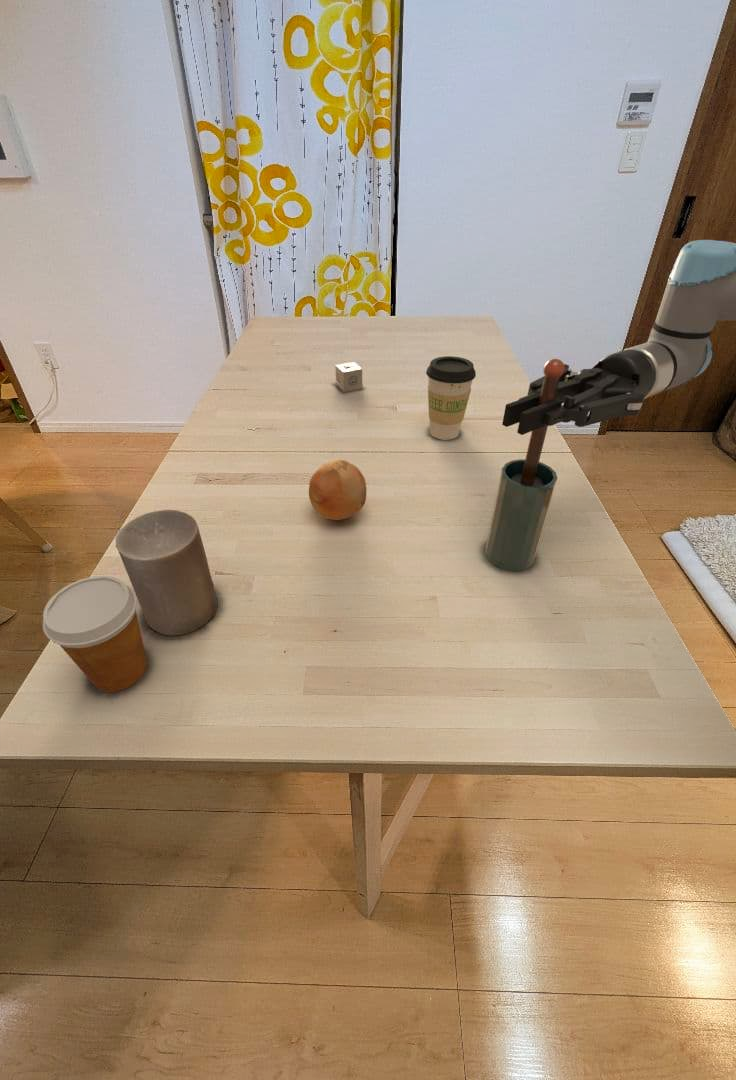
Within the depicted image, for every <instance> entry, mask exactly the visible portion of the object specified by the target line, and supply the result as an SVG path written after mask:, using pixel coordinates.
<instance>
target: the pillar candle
mask: <svg viewBox="0 0 736 1080" xmlns="http://www.w3.org/2000/svg"><path fill="white" fill-rule="evenodd" d="M114 541H115V548H116V549H117V551H118V554H119V557H120V559H121V561H122V564H123V567H124V569H125V571H126V573H127V576H128V579H129V581H130V583H131V586H132V589H133V591H134V593H135V595H136V598H137V602H138V604H139V606H140V609H141V611H142V613H143V616H144V618H145V621H146V623H147V625H148V626H149V627H150V628H151V629H152V630H153V631H155V632H156V633H158V634H160V635H164V636H170V637H171V636H176V637H177V636H183V635H186V634H190V633H193V632H195V631H197V630H199V629H201V628H202V627H204V626H205V625H206V624H208V622H209V621H210V620H212V618H213V617H214V616H215V615H216V613H217V610H218V607H219V600H218V597H217V595H216V591H215V585H214V581H213V578H212V575H211V572H210V567H209V563H208V558H207V554H206V550H205V547H204V544H203V540H202V535H201V532H200V528H199V525H198V523H197V521H196V519H195V518H194V517H193V516H192V515H191V514H188V513H187V512H185V511H180V510H177V509H160V510H154V511H151V512H147V513H144V514H142V515H139V516H137V517H135V518H133V519H132V520H130V521H128V522H127V523H126V524H125V525H124V526H123V527H121V528H120V529H119V530H118V532H117V534H116V535H115V540H114Z"/></svg>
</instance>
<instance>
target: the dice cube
mask: <svg viewBox="0 0 736 1080" xmlns="http://www.w3.org/2000/svg"><path fill="white" fill-rule="evenodd" d="M334 369H335V385H336V386H337V387H338V388H339V389H340V390H341V392H343V393H345V392H346V393H348V392H352V391H357V390H362V389H363V368H362V367H360V366H359V365H358V364H357V363H356V362H354V361H352V362H346V363H345V362H344V363H340V364H335V368H334ZM336 381H337V382H338V383H339V384H338V383H337V382H336Z"/></svg>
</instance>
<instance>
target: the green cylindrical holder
mask: <svg viewBox="0 0 736 1080" xmlns="http://www.w3.org/2000/svg"><path fill="white" fill-rule="evenodd" d="M525 459H526V458H525ZM525 459H524V458H523V459H522V458H521V459H520V458H519V459H513V460H510V461H508V462H506V463H504V464H503V466H502V467H501V469H500V474H499V479H498V485H497V490H496V494H495V500H494V504H493V509H492V514H491V520H490V525H489V530H488V535H487V539H486V546H485V557H486V558H487V560H488V561H489V562H490V563H491V564H492V565H493V566H495V567H497V568H499V569H501V570H504V571H510V572H520V571H525V570H527V569H529V568H530V567H531V566H532V565H533V564H534V562H535V559H536V556H537V553H538V548H539V545H540V543H541V538H542V533H543V531H544V527H545V524H546V520H547V517H548V514H549V510H550V507H551V502H552V500H553V496H554V493H555V489H556V486H557V482H558V475H557V472H556V471H555V470H554V469H553V468H552V467H551V466H549V465H547V464H546V463H544V462H541V461H539V464H538V468H537V472H536V476H537V477H538V478H540V479H541V480H542V482H543V486H537V487H536V486H526V485H522V484H519V483H516V482H515V481H513V480H511V478H512V477H513V476H514V475H516V474H521V473H522V472H523V468H524V463H525Z"/></svg>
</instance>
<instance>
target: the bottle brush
mask: <svg viewBox="0 0 736 1080" xmlns="http://www.w3.org/2000/svg"><path fill="white" fill-rule="evenodd" d="M564 364H565V362H563V361H562V360H561V359H559V358H551V359H548V361H546V363H545V364H544V366H543V375H544V376H543V377H544V381H543V385H542V389H541V394H540V398H539V402H538V406H539V405H542V404H545V403H548V402H550V401H553V400H555V396H556V392H557V388H558V384H559V380H560V377H561V376H562V375H563V373H564V370H565V366H564ZM548 428H549V426H547V425H546V426H544V427H541V428H539V429H536V430H533V431H531V432H530V437H529V441H528V442H529V443H528V446H527V451H526V455H525V463H524V468H523V472H522V473H521V474H516V475H514V476H513V477H512V478H511V480H513V481H515V482H516V483H519V484H522V485H526V486H536V487H537V486H543V482H542V480H541V479H540V478H538V477H537V476H536V472H537V468H538V464H539V462H540V459H541V456H542V451H543V448H544V443H545V440H546V435H547V431H548Z"/></svg>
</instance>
